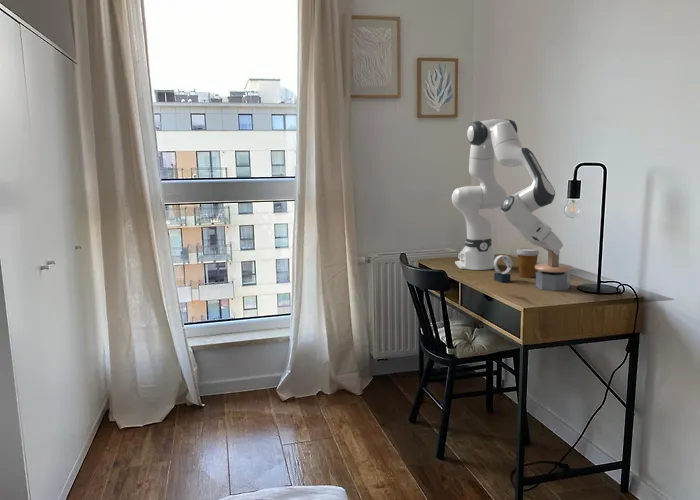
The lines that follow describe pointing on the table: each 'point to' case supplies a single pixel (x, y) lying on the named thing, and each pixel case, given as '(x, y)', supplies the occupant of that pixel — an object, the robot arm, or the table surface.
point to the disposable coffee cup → (527, 261)
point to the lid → (553, 264)
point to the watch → (504, 275)
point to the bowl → (552, 280)
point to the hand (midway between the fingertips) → (555, 252)
